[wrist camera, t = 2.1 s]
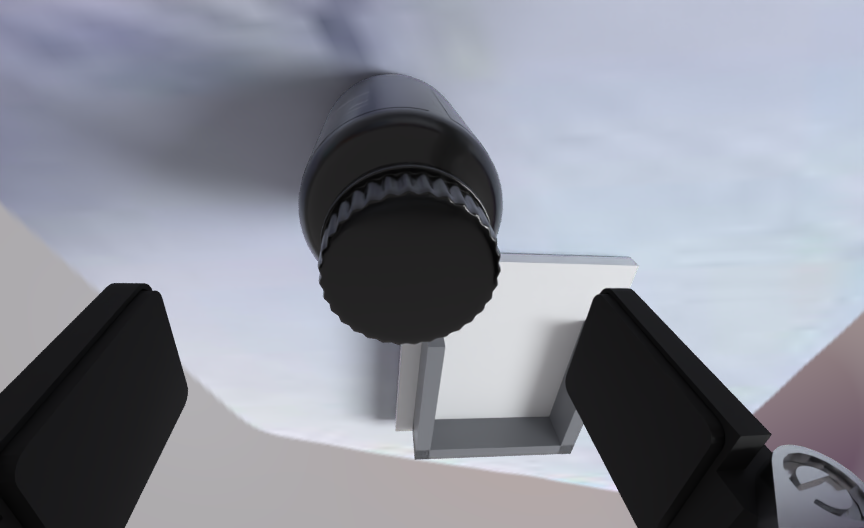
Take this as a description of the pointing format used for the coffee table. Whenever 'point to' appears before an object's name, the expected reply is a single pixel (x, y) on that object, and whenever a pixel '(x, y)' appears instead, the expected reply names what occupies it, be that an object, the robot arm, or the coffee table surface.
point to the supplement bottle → (401, 212)
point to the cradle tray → (506, 363)
